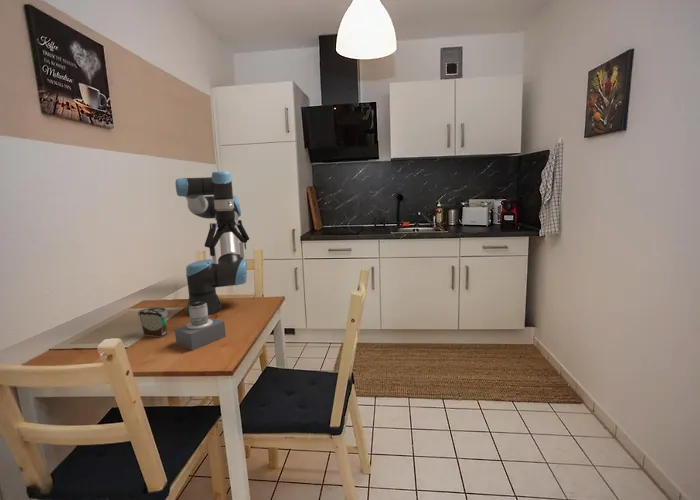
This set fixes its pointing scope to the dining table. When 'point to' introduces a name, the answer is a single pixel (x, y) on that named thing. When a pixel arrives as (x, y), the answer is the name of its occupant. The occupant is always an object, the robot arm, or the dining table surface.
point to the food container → (153, 321)
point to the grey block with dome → (200, 334)
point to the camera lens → (198, 313)
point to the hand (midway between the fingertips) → (229, 260)
